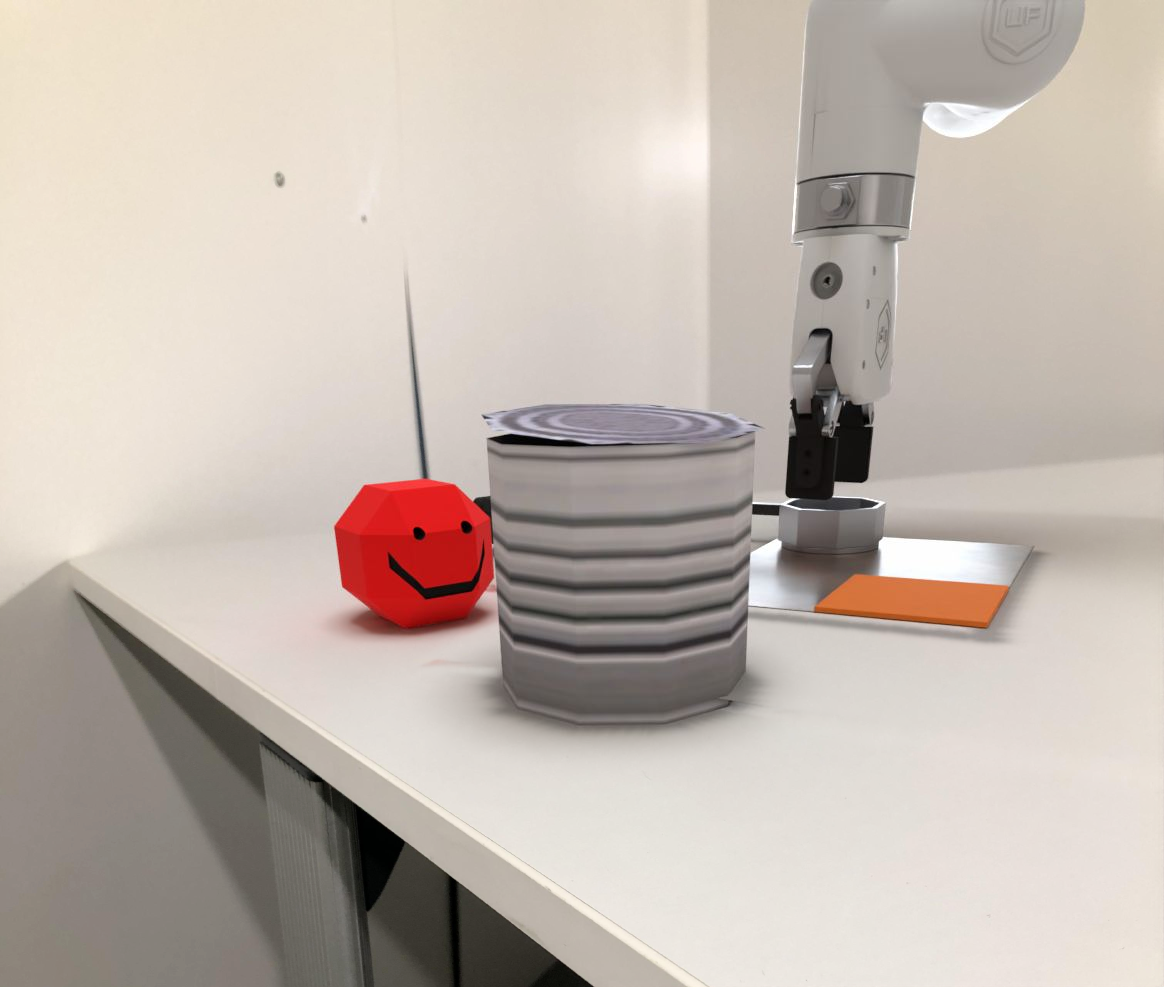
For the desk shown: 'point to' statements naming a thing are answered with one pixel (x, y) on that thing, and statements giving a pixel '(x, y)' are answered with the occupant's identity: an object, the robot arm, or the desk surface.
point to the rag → (916, 600)
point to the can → (621, 559)
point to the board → (876, 569)
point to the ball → (415, 551)
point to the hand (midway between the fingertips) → (828, 489)
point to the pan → (827, 524)
